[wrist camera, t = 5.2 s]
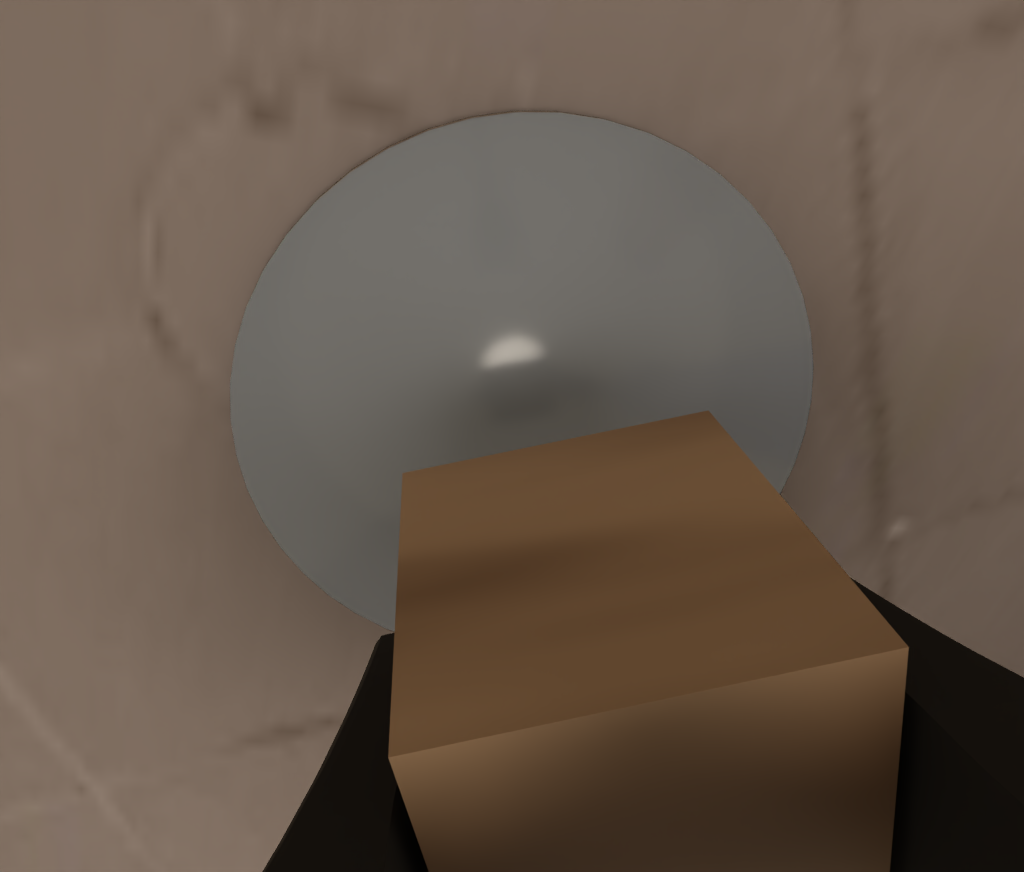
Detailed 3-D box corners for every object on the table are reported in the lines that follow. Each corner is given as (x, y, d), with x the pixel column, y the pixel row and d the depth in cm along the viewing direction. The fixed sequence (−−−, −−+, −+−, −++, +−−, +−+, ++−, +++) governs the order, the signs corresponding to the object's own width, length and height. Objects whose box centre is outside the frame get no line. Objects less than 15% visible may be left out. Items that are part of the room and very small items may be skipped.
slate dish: (800, 574, 21) (814, 591, 20) (334, 676, 20) (332, 699, 20) (793, 48, 15) (811, 47, 14) (141, 185, 15) (127, 191, 14)
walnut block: (722, 645, 13) (883, 951, 8) (464, 700, 13) (487, 1037, 8) (707, 410, 11) (908, 646, 6) (402, 473, 11) (389, 758, 6)
